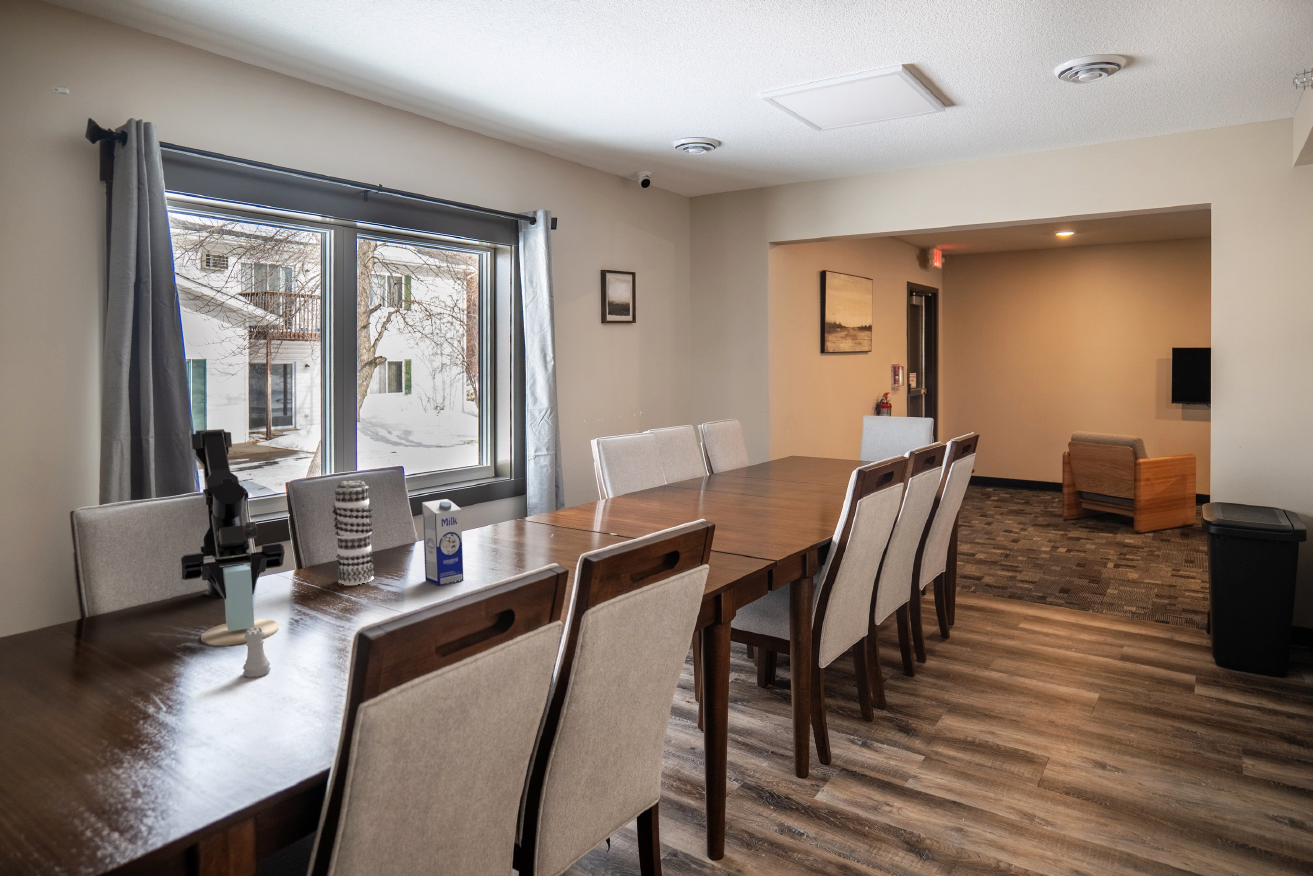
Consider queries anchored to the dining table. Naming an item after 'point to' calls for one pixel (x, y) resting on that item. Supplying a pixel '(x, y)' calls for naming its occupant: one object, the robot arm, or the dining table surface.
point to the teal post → (238, 597)
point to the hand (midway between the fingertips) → (239, 596)
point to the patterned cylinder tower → (353, 533)
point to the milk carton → (442, 542)
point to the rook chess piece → (255, 655)
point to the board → (236, 633)
